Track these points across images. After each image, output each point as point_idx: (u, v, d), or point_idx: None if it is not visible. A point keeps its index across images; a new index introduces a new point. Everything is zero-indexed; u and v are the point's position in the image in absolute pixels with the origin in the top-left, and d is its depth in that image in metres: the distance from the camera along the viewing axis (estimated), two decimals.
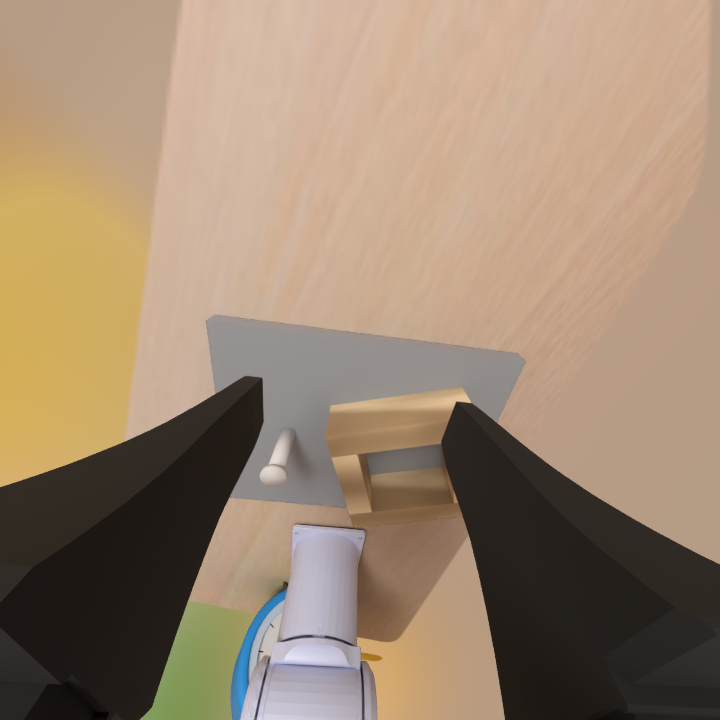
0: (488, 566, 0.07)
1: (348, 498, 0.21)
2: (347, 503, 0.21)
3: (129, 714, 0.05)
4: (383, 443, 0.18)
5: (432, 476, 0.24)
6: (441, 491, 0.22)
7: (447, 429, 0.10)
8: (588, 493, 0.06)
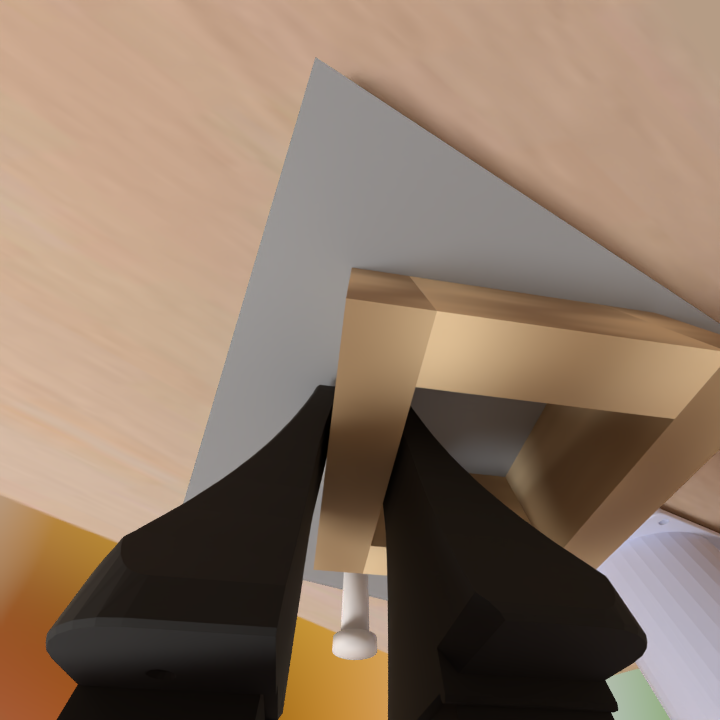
0: (391, 558, 0.07)
1: None
2: None
3: None
4: (359, 508, 0.08)
5: None
6: (620, 412, 0.08)
7: None
8: (477, 482, 0.06)
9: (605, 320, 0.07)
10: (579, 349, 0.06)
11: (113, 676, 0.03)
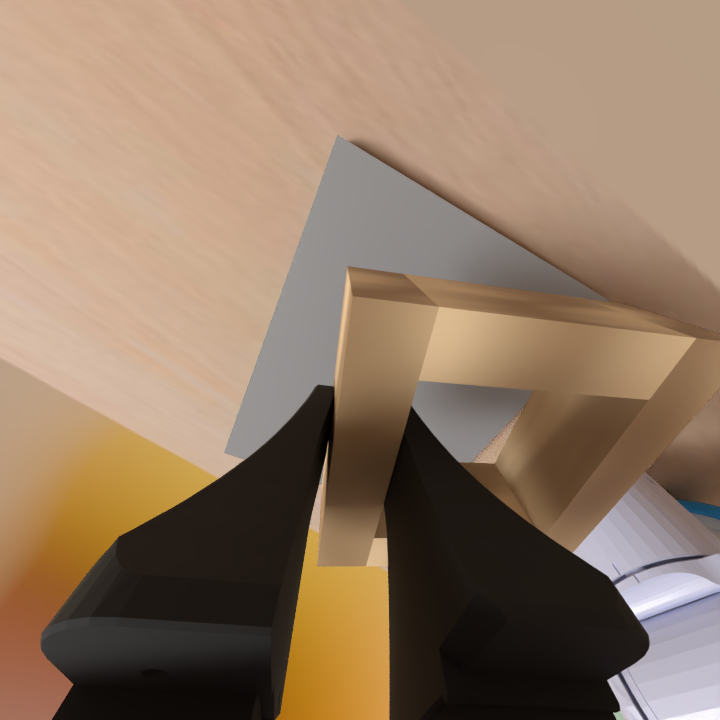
0: (393, 558, 0.07)
1: None
2: None
3: None
4: (363, 502, 0.08)
5: None
6: (600, 396, 0.09)
7: None
8: (479, 482, 0.06)
9: (586, 312, 0.07)
10: (568, 339, 0.06)
11: (108, 676, 0.03)
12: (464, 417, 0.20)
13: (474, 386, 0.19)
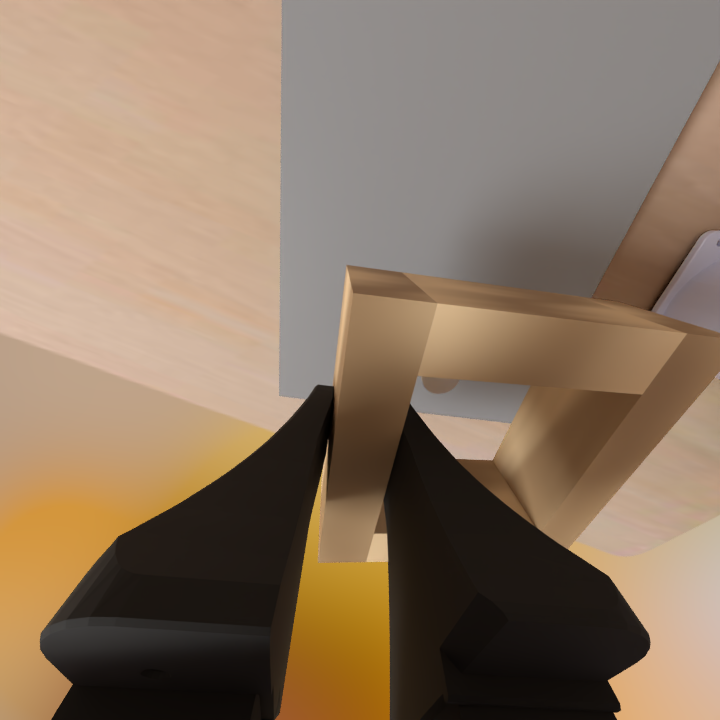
0: (393, 558, 0.07)
1: None
2: None
3: None
4: (363, 497, 0.09)
5: None
6: (595, 391, 0.09)
7: None
8: (478, 482, 0.06)
9: (581, 309, 0.08)
10: (563, 334, 0.06)
11: (108, 676, 0.03)
12: (552, 260, 0.15)
13: (556, 206, 0.14)
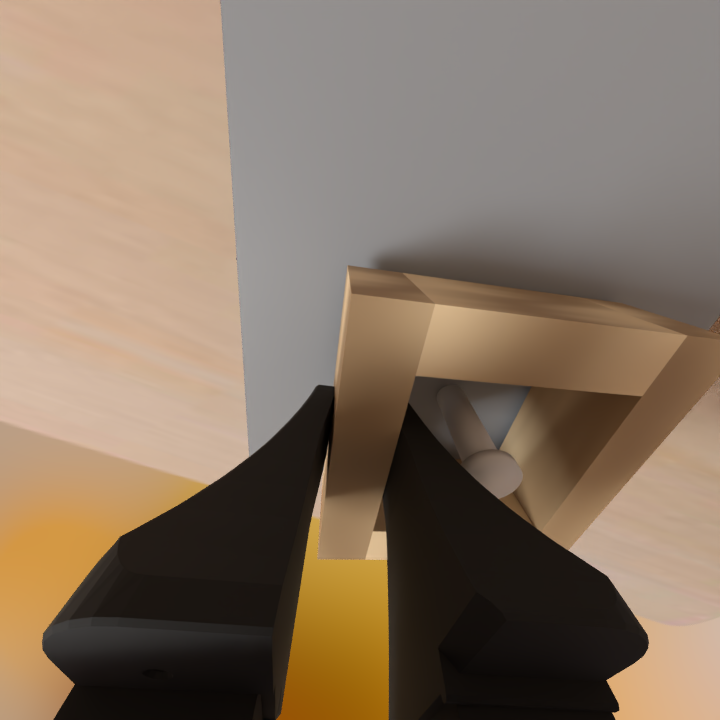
0: (392, 558, 0.07)
1: None
2: None
3: None
4: (362, 495, 0.09)
5: None
6: (595, 393, 0.09)
7: None
8: (478, 482, 0.06)
9: (581, 310, 0.08)
10: (561, 336, 0.06)
11: (110, 676, 0.03)
12: (654, 285, 0.10)
13: (675, 201, 0.09)
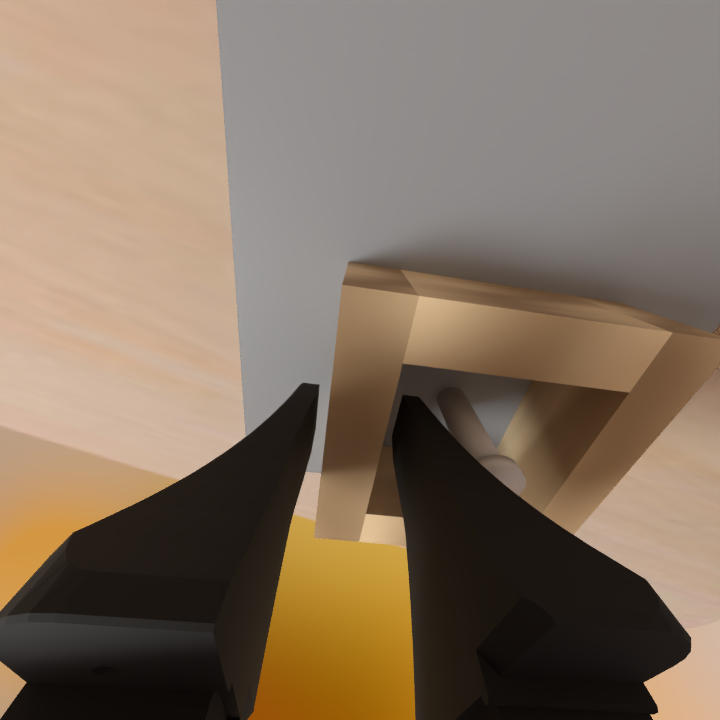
0: (414, 560, 0.07)
1: None
2: None
3: None
4: (355, 477, 0.09)
5: None
6: (587, 390, 0.09)
7: (396, 423, 0.10)
8: (503, 484, 0.06)
9: (570, 307, 0.08)
10: (542, 329, 0.07)
11: (59, 674, 0.03)
12: (659, 286, 0.10)
13: (681, 201, 0.08)
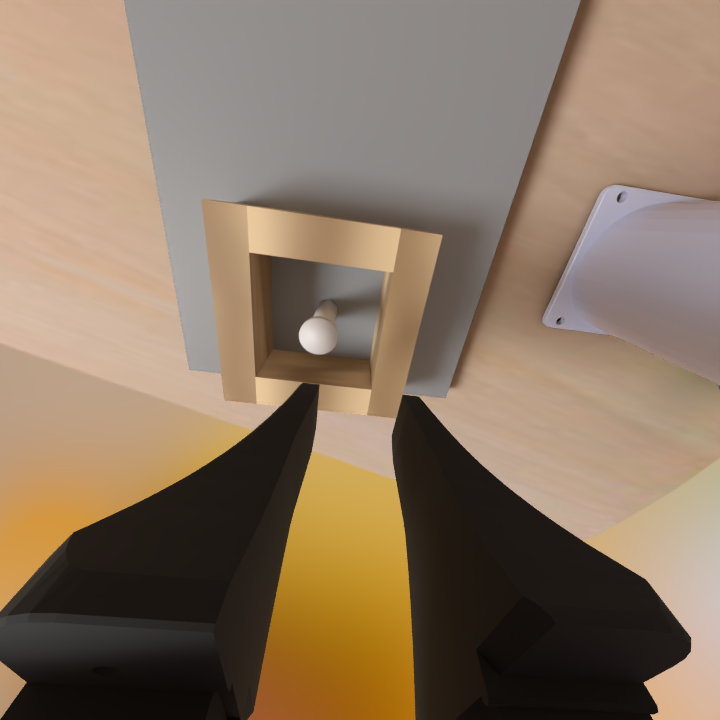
0: (414, 560, 0.07)
1: (334, 408, 0.16)
2: (343, 411, 0.16)
3: None
4: (240, 343, 0.14)
5: (384, 283, 0.15)
6: (388, 282, 0.14)
7: (396, 423, 0.10)
8: (503, 485, 0.06)
9: None
10: (324, 227, 0.12)
11: (59, 674, 0.03)
12: (446, 218, 0.15)
13: (440, 157, 0.13)
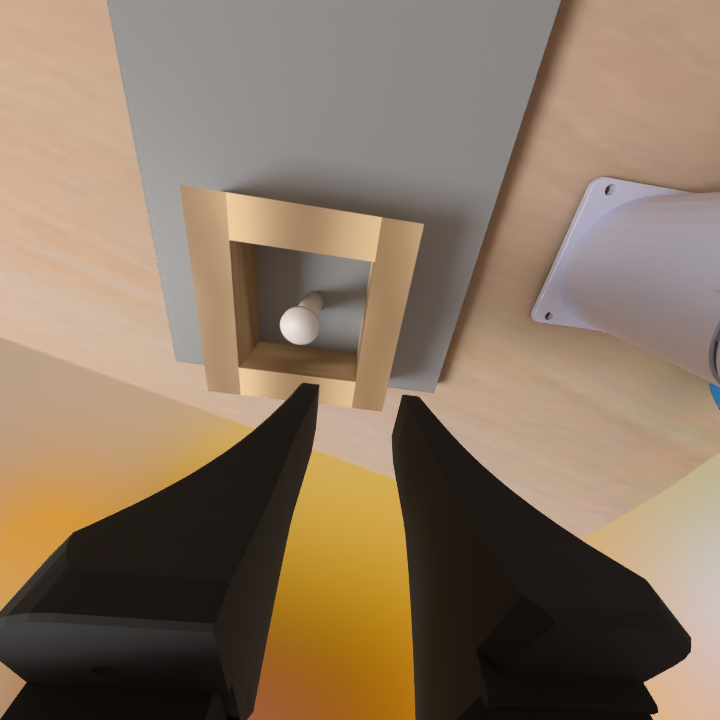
0: (414, 560, 0.07)
1: (319, 400, 0.16)
2: (328, 403, 0.16)
3: None
4: (223, 333, 0.14)
5: (369, 274, 0.15)
6: (371, 272, 0.14)
7: (396, 423, 0.10)
8: (503, 484, 0.06)
9: None
10: (304, 215, 0.11)
11: (59, 673, 0.03)
12: (432, 209, 0.14)
13: (425, 147, 0.13)
